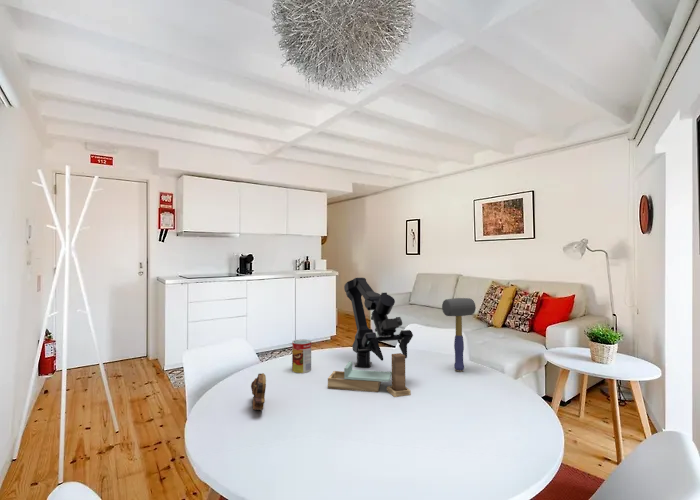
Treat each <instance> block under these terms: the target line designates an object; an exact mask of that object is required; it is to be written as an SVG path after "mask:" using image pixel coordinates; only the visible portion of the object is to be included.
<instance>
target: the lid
mask: <svg viewBox="0 0 700 500" xmlns="http://www.w3.org/2000/svg"><path fill="white" fill-rule="evenodd" d="M343 369H344V371H343V372H344V379H351V380H366V381H381V383H382V382H384V383H390V382H391V380H392V371H381V370H363V369H353V361H348V362H347V364H346V365H345V366H344V368H343Z"/></svg>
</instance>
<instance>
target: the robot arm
mask: <svg viewBox="0 0 700 500" xmlns="http://www.w3.org/2000/svg"><path fill="white" fill-rule="evenodd" d="M343 288H344V292H345V294H346V297H347V298H348V299H349V300H350V301H351V306H352V310H353V316H354V322H355V326H356V333H355V336H354V340H353V343H352V344H351V347H352V351H353V352H354V353H356V363H355V365H354V367H356V368H371V366H372V364H373V362H372V361H371V352H372V353H374V355H375V356H376V357H377V358H378V359H380V361H384V356H383V353H382V350H381V348H380V347H381V346H380V345H379V342H392V341H393V342H394V341H397V343H398V344H399V345H398V347H399V349H400V351H401V354H403V355H405V359H407V358H408V344H410V342H411V340H412V338H413V337H414V334H413V332H412V330H410V329H406V330H405V329H404V330H400V332H399V333H398V334H395V333H396V332H397V329H398V328H399V327H401V326H402V325H403V319H402V317H401V316H395V318H389V314H390V313H391V311H392V309H393V307H394V305H395V303H396V301H395V298H394V297H393V296H392V295H390V294H388V293H387V292H381V294H380V293H378V292H376V291H374V290H373V288H372V286H370V284H369V283H368V282H367V279H366V278H365V277H355V278H353V279H351V280H348V281H347V282H346V283H345V284H344V287H343ZM362 297H363V299H364V302H363V300H362ZM363 303H364V305H363ZM364 308H366V310H367V311H372V312H371V317H370V320H372V321H373V324H374V326H375V329H374V330H373V329H372V328H369V327H368V322H367V318H366V312H365V309H364ZM374 331H375V332H374Z"/></svg>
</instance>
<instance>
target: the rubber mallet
mask: <svg viewBox="0 0 700 500" xmlns="http://www.w3.org/2000/svg"><path fill="white" fill-rule="evenodd" d="M476 307H477V306H476V302H475V301H474V299H473V298H469V297H467V298H466V297H465V298H464V297H455V298H454V297H453V298H447V299H444V300H443V301H442V305H441V309H442V313H443V314H444V315H445V316H446V317H455V336H454V343H453V347H454V366H453V368H454V370H455V371H456V372H463V371H464V369H465V363H464V350H465V344H464V341H465V340H464V337H463V336H464V335H463V318H462V317H463V316H464V317H465V316H471V315H473V314H475V312H476Z"/></svg>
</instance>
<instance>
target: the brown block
mask: <svg viewBox="0 0 700 500" xmlns="http://www.w3.org/2000/svg"><path fill="white" fill-rule="evenodd" d="M391 372H392V375H391V386H392V389H393V390H394V391H403V390H405V387H406V358H405V355H403V354H402V352H401V353H391Z"/></svg>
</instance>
